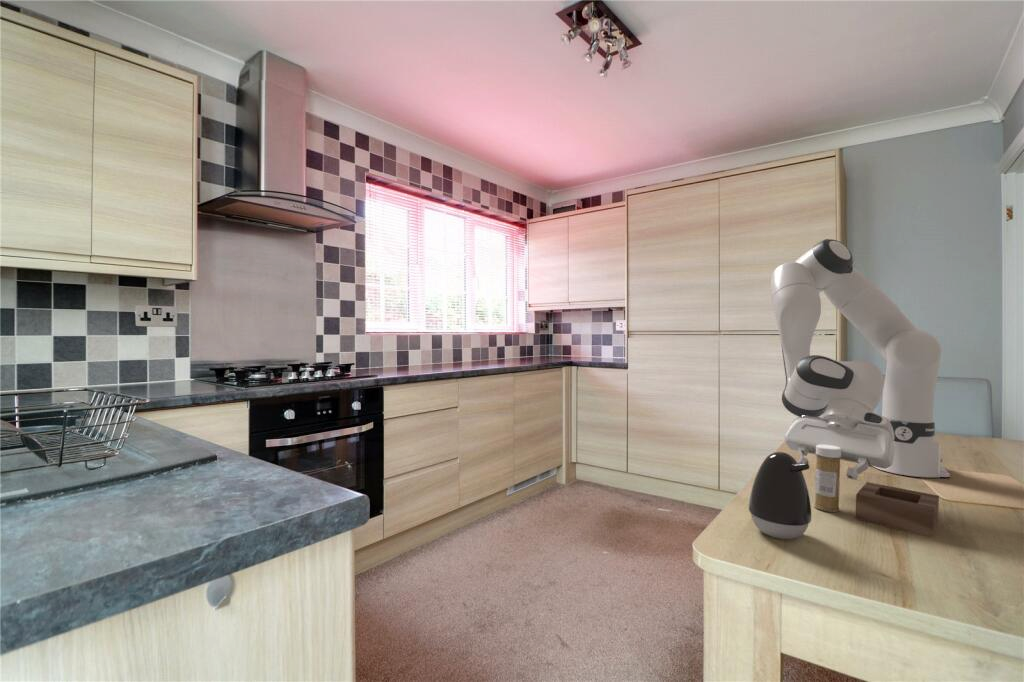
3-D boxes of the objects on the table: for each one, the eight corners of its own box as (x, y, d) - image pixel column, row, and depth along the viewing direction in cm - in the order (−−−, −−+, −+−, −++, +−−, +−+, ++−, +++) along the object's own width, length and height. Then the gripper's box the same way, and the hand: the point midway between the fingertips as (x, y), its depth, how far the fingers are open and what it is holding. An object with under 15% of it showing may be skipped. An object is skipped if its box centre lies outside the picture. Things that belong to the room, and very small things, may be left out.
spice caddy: (866, 504, 109) (866, 481, 109) (937, 520, 100) (938, 495, 100) (855, 518, 100) (856, 494, 100) (932, 537, 92) (934, 510, 92)
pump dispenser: (785, 549, 85) (788, 462, 84) (735, 527, 94) (738, 448, 94) (824, 541, 89) (828, 457, 88) (773, 519, 98) (776, 444, 98)
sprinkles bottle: (842, 510, 105) (845, 447, 104) (832, 514, 102) (835, 449, 102) (819, 503, 108) (822, 442, 108) (809, 507, 106) (811, 445, 106)
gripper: (792, 405, 117) (771, 452, 112) (897, 420, 101) (878, 474, 95) (800, 422, 120) (779, 468, 115) (904, 439, 104) (885, 493, 98)
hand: (825, 471), depth 105 cm, fingers open, 8 cm apart
